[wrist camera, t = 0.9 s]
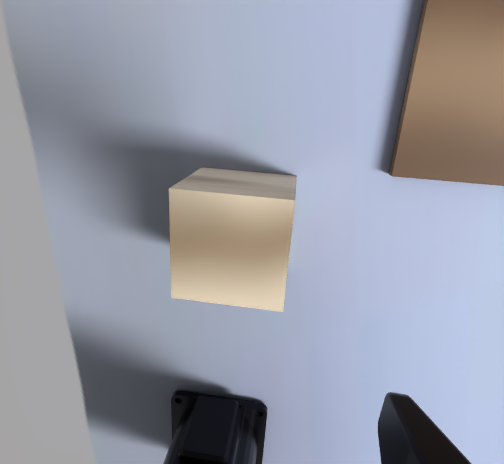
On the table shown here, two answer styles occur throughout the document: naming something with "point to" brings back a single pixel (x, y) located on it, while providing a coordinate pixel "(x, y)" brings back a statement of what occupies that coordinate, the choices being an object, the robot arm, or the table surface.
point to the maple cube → (231, 237)
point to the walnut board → (454, 96)
